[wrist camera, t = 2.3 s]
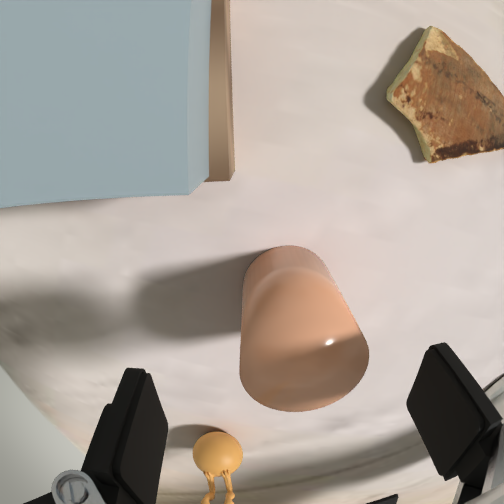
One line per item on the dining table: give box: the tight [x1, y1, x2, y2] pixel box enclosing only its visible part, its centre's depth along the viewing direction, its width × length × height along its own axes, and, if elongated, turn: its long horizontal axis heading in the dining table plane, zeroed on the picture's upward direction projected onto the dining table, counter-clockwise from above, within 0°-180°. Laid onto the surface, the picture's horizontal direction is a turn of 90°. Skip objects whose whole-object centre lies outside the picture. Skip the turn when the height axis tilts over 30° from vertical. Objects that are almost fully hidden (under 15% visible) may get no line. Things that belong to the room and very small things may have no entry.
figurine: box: [193, 432, 243, 504], centre depth 17 cm, size 8×6×12 cm
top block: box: [0, 0, 211, 208], centre depth 8 cm, size 10×10×4 cm
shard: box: [386, 26, 504, 163], centre depth 14 cm, size 11×8×2 cm
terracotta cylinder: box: [240, 246, 369, 412], centre depth 14 cm, size 5×5×7 cm
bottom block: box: [203, 0, 235, 182], centre depth 12 cm, size 11×11×4 cm
